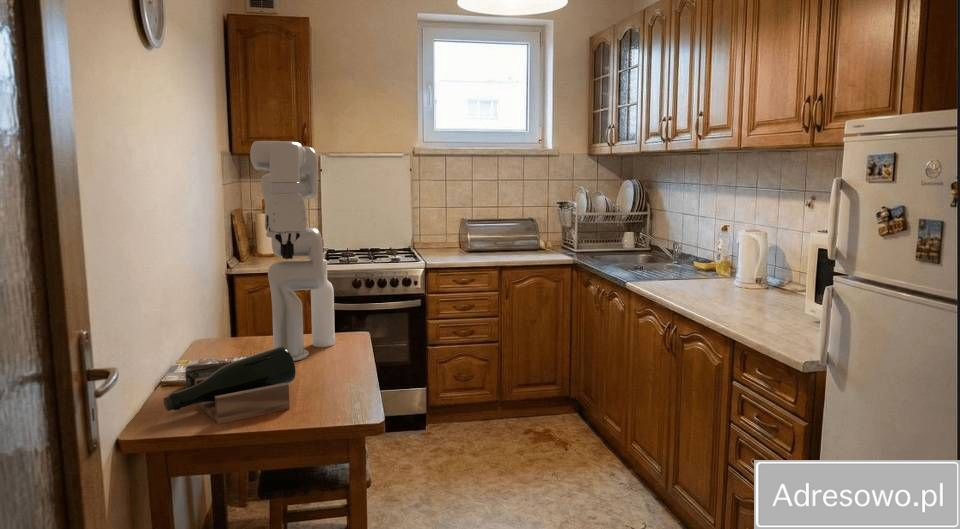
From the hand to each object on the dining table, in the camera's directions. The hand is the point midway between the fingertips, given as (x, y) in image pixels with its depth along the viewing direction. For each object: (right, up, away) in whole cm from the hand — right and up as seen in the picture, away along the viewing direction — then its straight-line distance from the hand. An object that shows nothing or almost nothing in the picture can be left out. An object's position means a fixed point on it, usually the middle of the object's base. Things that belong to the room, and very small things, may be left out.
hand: (287, 258), depth 183 cm
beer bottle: (-2, -29, +7) cm, 30 cm away
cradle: (-11, -39, -3) cm, 40 cm away
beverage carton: (-22, -37, +13) cm, 45 cm away
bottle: (-4, -30, +59) cm, 66 cm away
